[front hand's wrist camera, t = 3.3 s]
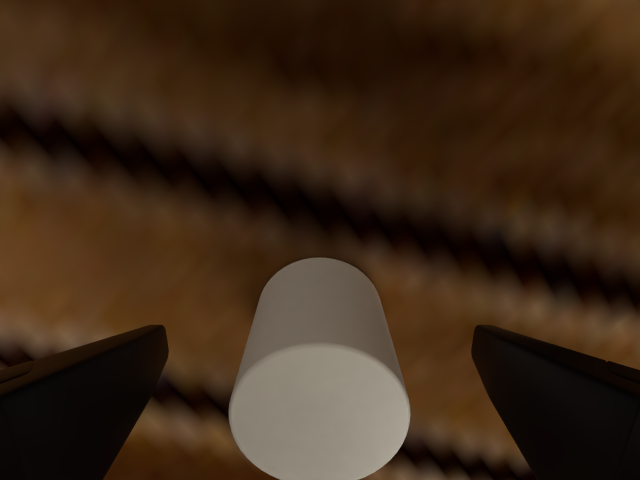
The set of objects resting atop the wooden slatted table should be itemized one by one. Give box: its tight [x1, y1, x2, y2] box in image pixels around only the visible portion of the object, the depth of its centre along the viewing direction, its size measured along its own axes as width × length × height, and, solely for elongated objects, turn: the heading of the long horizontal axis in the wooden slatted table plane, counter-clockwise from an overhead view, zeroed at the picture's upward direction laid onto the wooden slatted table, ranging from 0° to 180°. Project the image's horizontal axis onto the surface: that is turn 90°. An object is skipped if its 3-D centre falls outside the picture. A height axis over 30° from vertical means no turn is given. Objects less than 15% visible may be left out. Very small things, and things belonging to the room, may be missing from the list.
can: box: [229, 258, 410, 480], centre depth 11 cm, size 4×4×5 cm
